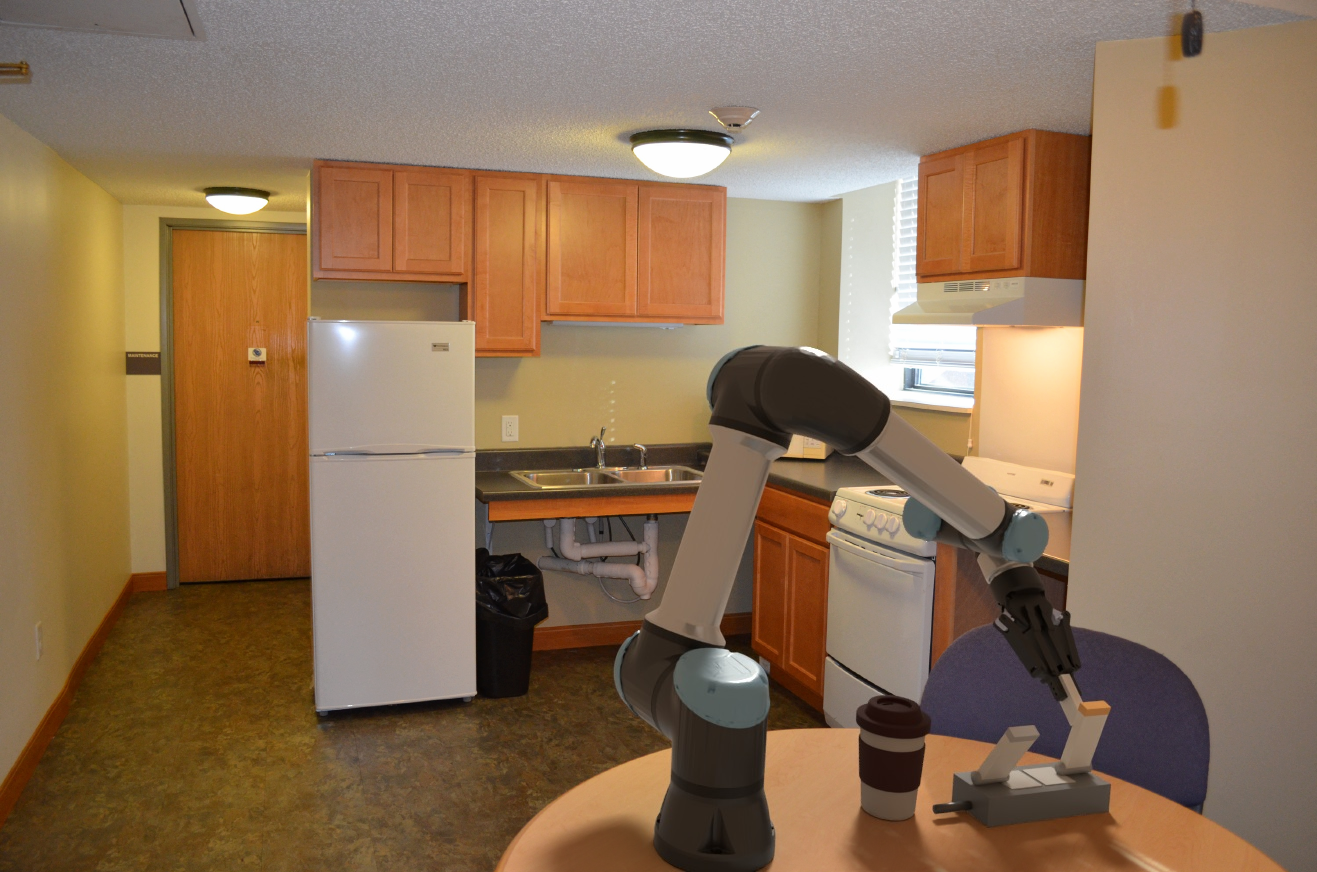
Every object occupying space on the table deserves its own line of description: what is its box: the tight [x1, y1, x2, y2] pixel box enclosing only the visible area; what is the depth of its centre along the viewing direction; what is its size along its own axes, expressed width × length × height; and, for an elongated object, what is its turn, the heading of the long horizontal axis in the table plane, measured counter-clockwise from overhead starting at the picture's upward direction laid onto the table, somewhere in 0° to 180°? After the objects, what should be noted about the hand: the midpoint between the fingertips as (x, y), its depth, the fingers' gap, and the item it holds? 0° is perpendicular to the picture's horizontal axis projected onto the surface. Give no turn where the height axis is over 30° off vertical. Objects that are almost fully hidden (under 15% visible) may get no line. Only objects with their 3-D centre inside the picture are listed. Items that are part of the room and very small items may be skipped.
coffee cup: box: [855, 694, 932, 821], centre depth 132 cm, size 10×10×15 cm
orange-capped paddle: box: [1055, 700, 1112, 775], centre depth 136 cm, size 5×2×12 cm, turn 108°
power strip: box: [931, 761, 1112, 828], centre depth 135 cm, size 26×8×4 cm, turn 108°
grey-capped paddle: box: [971, 724, 1041, 785], centre depth 130 cm, size 5×2×12 cm
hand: (1080, 720), depth 136 cm, fingers closed
